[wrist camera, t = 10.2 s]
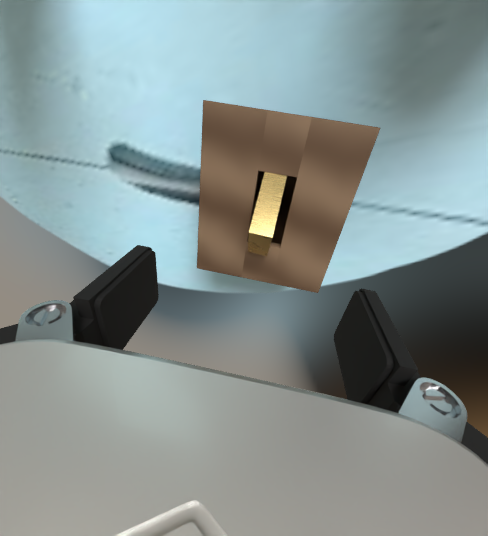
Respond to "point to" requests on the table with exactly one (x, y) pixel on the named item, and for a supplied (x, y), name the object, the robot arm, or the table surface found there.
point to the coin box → (294, 195)
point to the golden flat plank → (266, 213)
